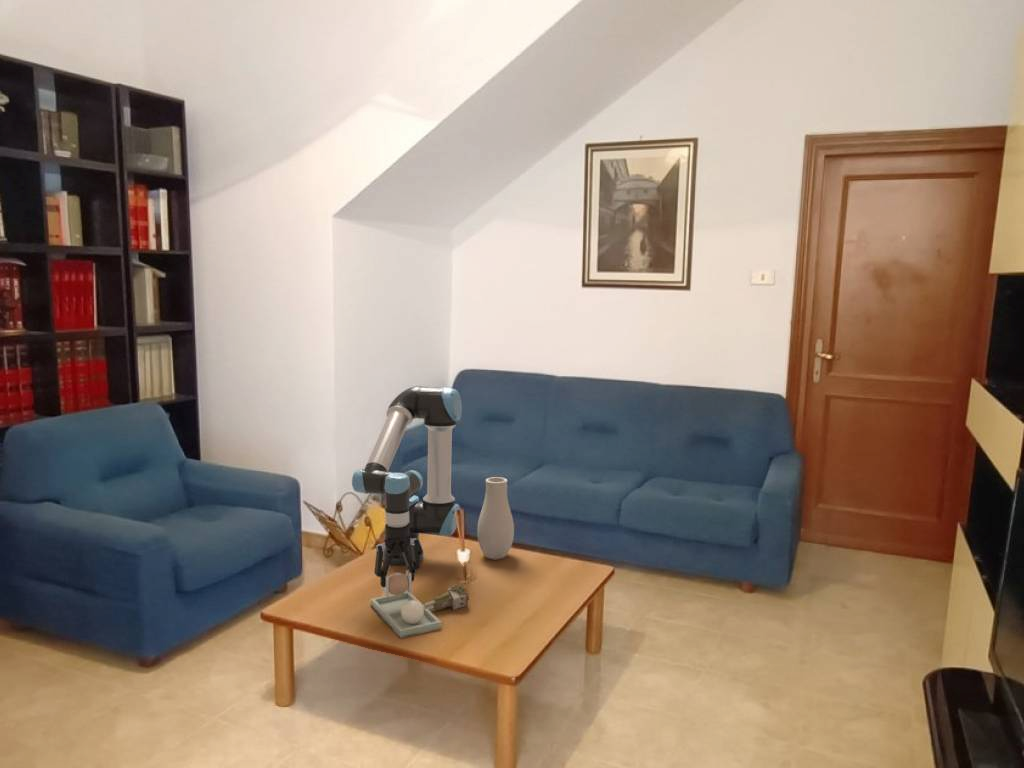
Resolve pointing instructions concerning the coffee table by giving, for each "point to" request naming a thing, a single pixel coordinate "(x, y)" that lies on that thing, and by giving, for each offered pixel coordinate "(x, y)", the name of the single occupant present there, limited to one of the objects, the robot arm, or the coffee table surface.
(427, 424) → the robot arm
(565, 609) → the coffee table surface
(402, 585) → the pink ball
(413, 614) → the cream egg
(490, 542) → the vase
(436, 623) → the divided tray
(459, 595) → the toy
